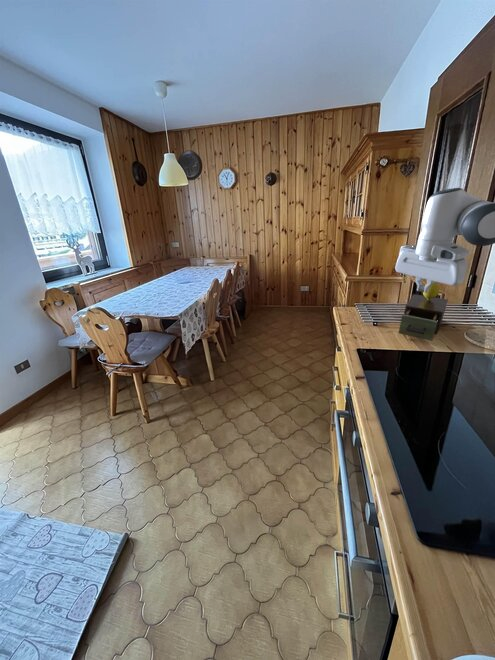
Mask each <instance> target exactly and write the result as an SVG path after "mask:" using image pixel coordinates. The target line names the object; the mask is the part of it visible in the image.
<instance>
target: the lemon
mask: <svg viewBox="0 0 495 660" xmlns="http://www.w3.org/2000/svg"><path fill="white" fill-rule="evenodd" d="M427 284H428V283H427V282H426V284H425V285H424V286H426V285H427ZM439 293H440V285H439V283H438V282H435V283H434V284H433V285H432V286H430V287H429V291H428V292H427V293H424V292H422V294H423V295H422V296H425V297H426V298H427V299H428V300H430V299H433V298H437V297H438V295H439Z"/></svg>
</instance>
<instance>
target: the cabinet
mask: <svg viewBox="0 0 495 660" xmlns="http://www.w3.org/2000/svg"><path fill="white" fill-rule="evenodd" d="M448 301H449V299H446V298H442V297H441V298H440V297H435V298H433V299H430V300H428V299H427V298H426V297H425V296H424V295H422V294H415V293H414V294H412V296H411V297H410V299H409V300H408V302H407V303H406V304H405V307H404V310H403V311H404V313H403V314H404V315H406V313H407V311H408V310H409V308H411V309H416V310H422V311H428V312H433V313H439V315H438V319H437V320H438V322H437V325H436V329H435V333H434V335H435V336H436V335H438V332H439V330H440V327H441V324H442V322H443V319H444V316H445V313H446V309H447V305H448Z"/></svg>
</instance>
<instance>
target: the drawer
mask: <svg viewBox="0 0 495 660" xmlns="http://www.w3.org/2000/svg"><path fill="white" fill-rule="evenodd" d="M438 315H439V313H433V312H428V311H422V310H416V309H411V308H409V310H408V311H407V313H406V315H404V313H403V314H401V317H400V318H401V319H400V323H399V328H398V333H397V334H399V335H404V336H409V337H412V338H417V339H421V340H424V341H425V340H426V341H431V342H432V341H433V340H434V336H435V334H434V333H435V329H436V325H437V322H438V321H437V319H438Z"/></svg>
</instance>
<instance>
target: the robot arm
mask: <svg viewBox="0 0 495 660" xmlns="http://www.w3.org/2000/svg"><path fill="white" fill-rule="evenodd" d="M456 236H462V237H463V239H464V240H465V241H466V242H467V243H469V244H471V245H472V246H477V247H486V246H491V245H494V244H495V201H488V200H485V199H481V198H479V197H477V196H474V195H473V194H470V193H468V192H467V191H465V190H464V188H461V187H453V188H447V189H442V190H439V191H436V192H433V194H432V195H430V197H429V198H428V200H427V203H426V206H425V208H424V212H423V216H422V220H421V231H420V233H419V235H418V237H417V238H418V239H417V242H416V245H412V244H409V243H408V244H405V245H402V246H401V247H400V248H399V253H398V257H397V260H396V263H395V266H394V270H395V271H396V273H398V274H403V275H407V276H411V277H415V279H414V280H415V283H416V291H417V292H421V293H423V292H424V293H427V292H428V291H429V287H430V286H432V285H433V284H434V283H435V282H436V283H438V284H443V285H448V286H451V287H452V286H453V287H455V286H459V285H460V284H462V283H464V281H465V280H466V279H465V278H466V276H467V269H468V260H467V259H466V258H467V257H468V256H469V254H470V251H469V250H468V249H466V248H465V247H463V246H461V245H458V244H457V243H455V242H453V241H454V237H456ZM423 280H426V284H427V283H428V284H427V285H426V284H425V285H426V286H425V285H424V284H423Z"/></svg>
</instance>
